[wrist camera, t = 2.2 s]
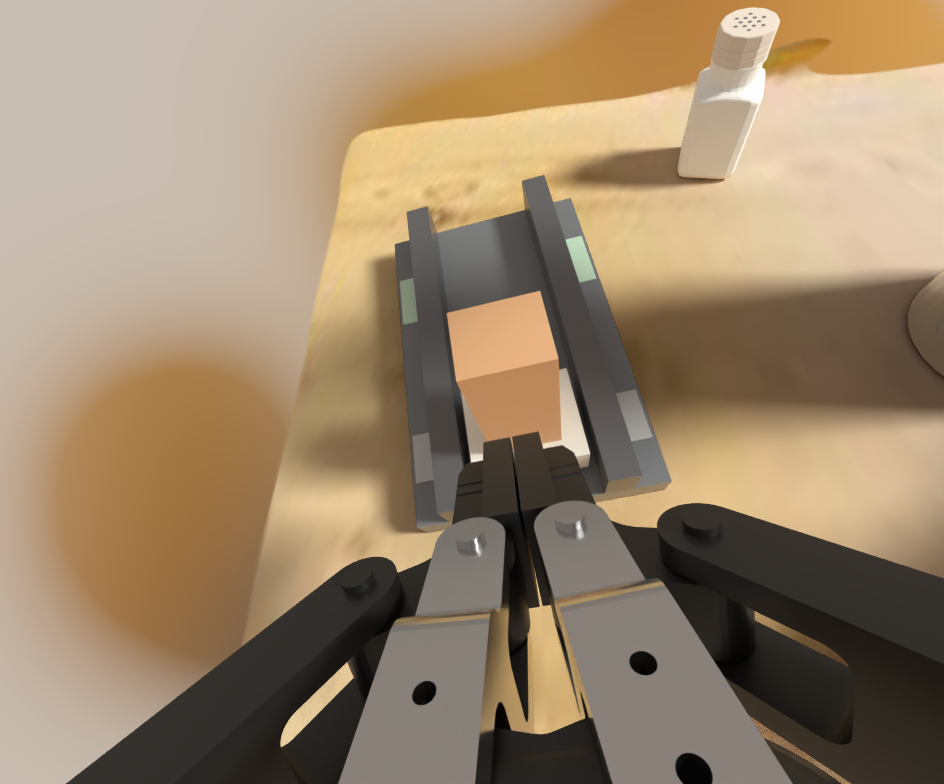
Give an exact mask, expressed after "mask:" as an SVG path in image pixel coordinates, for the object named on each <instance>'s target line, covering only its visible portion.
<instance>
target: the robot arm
mask: <svg viewBox="0 0 944 784" xmlns="http://www.w3.org/2000/svg"><path fill="white" fill-rule="evenodd" d="M908 329H909V332H910V335H911V338H912V341H913V343H914V345H915V346H916V348H917V349H918V351H919V352H920V354H921V356H922V357H923V358H924V359H925V360H926V361H927V362H928V363H929V364H930V365H931V366H932V367H933V368H934V369H935V370H936V371H937V372H938V373H940V374H941V375H942V376H944V270H943V271H942V272H941V273H940V274H939V275H938V276H936V277H935V278H934V279H933V280H932V281H931V282H930V283H928V284H927V285H926V286H925V287H924V288H923V289H922V290H921V291H919V293H918V294H917V295H916V297H915V298H914V300H913V301H912V302H911V305H910V309H909V312H908ZM512 440H513V447H512V443H511V439H510V437H507V438H502V439H497V440H492V441H487V442H484V443H483V460H482V461H477V462H472V463H467V465H466V466H465V467H464V468H463V470H462V471H461V472H460V473H459V475H458V483H457V490H456V498H455V505H454V513H453V520H452V526H450V527H449V528H447V529H446V530H445V531H444V532H443V533H442V534H441V535H440V536H439V538H438V539H437V542H436V545H435V548H434V552H433V555H432V558H430V559H429V560H427V561H425V562H423V563H421V564H419V565H416V566H414V567H411V568H409V569H406V570H404V571H401V572H399V573H398V572H397V569H396V567H395V564H394V563H393V562H392V561H391V560H389V559H387V558H384V557H370V558H365V559H361V560H358V561H356V562H354V563H352V564H350V565H348V566H346V567H344V568H343V569H341V570H340V571H339V572H337V573H336V574H335V575H334V576H332V577H331V578H330V579H328V580H327V581H326V582H325V583H323V584H322V585H321V586H319V587H318V588H317V589H316V590H314V591H313V592H312V593H310V594H309V595H308V596H307V597H305V598H304V599H303V600H301V601H300V602H299V603H298V604H296V605H295V606H294V607H292V608H291V609H290V610H289V611H287V612H286V613H285V614H283V615H282V616H281V617H280V618H278V619H277V620H276V621H274V622H273V623H272V624H271V625H269V626H268V627H267V628H265V629H264V630H263V631H262V632H260V633H259V634H258V635H256V636H255V637H254V638H253V639H251V640H250V641H249V642H247V643H246V644H245V645H244V646H242V647H241V648H240V649H239V650H237V651H236V652H235V653H233V654H232V655H231V656H230V657H228V658H227V659H226V660H224V661H223V662H222V663H221V664H219V665H218V666H217V667H215V668H214V669H213V670H212V671H210V672H209V673H208V674H207V675H205V676H204V677H203V678H201V679H200V680H199V681H198V682H196V683H195V684H194V685H192V686H191V687H190V688H188V689H187V690H186V691H185V692H183V693H182V694H181V695H179V696H178V697H177V698H176V699H174V700H173V701H172V702H170V703H169V704H168V705H167V706H165V707H164V708H163V709H161V710H160V711H159V712H158V713H156V714H155V715H154V716H153V717H151V718H150V719H149V720H148V721H146V722H145V723H143V724H142V725H141V726H140V727H138V728H137V729H136V730H135V731H134V732H132V733H131V734H129V735H128V736H127V737H126V738H124V739H123V740H122V741H120V742H119V743H118V744H117V745H115V746H114V747H113V748H111V749H110V750H109V751H107V752H106V753H105V754H104V755H102V756H101V757H100V758H99V759H97V760H96V761H95V762H93V763H92V764H91V765H90V766H88V767H87V768H86V769H84V770H83V771H82V772H81V773H79V774H78V775H77V776H75V777H74V778H73V779H72V780H70V781H69V782H68V783H66V784H841V783H840V782H838V781H837V780H836V779H834V778H833V777H831V776H830V775H828V774H827V773H826V772H824V771H823V770H821V769H820V768H818V767H817V766H815V765H814V764H812V763H810V762H808V761H807V760H805V759H803V758H802V757H800V756H798V755H796V754H795V753H793V752H791V751H790V750H788V749H785V748H783V747H781V746H779V745H777V744H775V743H773V742H771V741H769V740H767V739H764V738H763V737H762V735H761V734H760V732H759V730H758V729H757V727H756V726H755V724H754V723H753V721H752V720H751V718H750V716H751V717H752V718H754V719H755V720H757V721H758V722H760V723H761V724H763V725H764V726H766V727H767V728H769V729H770V730H772V731H773V732H775V733H776V734H778V735H779V736H781V737H782V738H784V739H785V740H787V741H788V742H790V743H791V744H793V745H794V746H796V747H798V748H799V749H801V750H802V751H804V752H805V753H807V754H808V755H810V756H811V757H813V758H814V759H816V760H817V761H819V762H820V763H822V764H823V765H825V766H826V767H828V768H829V769H831V770H832V771H834V772H835V773H837V774H838V775H840V776H841V777H843V778H844V779H846V780H847V781H849V782H850V783H852V784H944V579H943V578H940V577H937V576H934V575H931V574H928V573H925V572H922V571H919V570H916V569H912V568H909V567H906V566H903V565H900V564H897V563H894V562H891V561H888V560H885V559H881V558H878V557H875V556H872V555H869V554H866V553H863V552H860V551H857V550H854V549H850V548H847V547H844V546H841V545H838V544H835V543H832V542H829V541H826V540H823V539H819V538H816V537H813V536H810V535H807V534H804V533H801V532H798V531H795V530H791V529H788V528H785V527H782V526H779V525H776V524H773V523H770V522H767V521H764V520H760V519H757V518H754V517H751V516H748V515H745V514H742V513H739V512H736V511H733V510H729V509H726V508H723V507H720V506H716V505H711V504H702V503H691V504H683V505H679V506H676V507H673V508H671V509H669V510H667V511H665V512H664V513H663V514H662V515H661V516H660V518H659V519H658V522H657V528H646V527H631V526H626V525H622V524H618V523H616V522H613V521H611V520H610V519H609V517H608V515H607V514H606V512H605V511H604V510H603V509H602V508H600V507H599V506H597V505H596V503H595V501H594V499H593V496H592V494H591V491H590V489H589V487H588V484H587V482H586V480H585V477H584V475H583V473H582V470H581V468H580V465H579V463H578V461H577V458H576V456H575V454H574V452H572V451H571V450H569V449H568V448H566V447H564V446H563V445H560V446H555V447H550V448H544V449H543V445H542V442H541V438H540V435H539V431H537V432H532V433H527V434H522V435H517V436H512ZM513 448H514V452H513ZM534 569H535V570H534ZM535 573H536V577H535ZM536 578H537V582H538V587H539V591H540V595H541V600H542V604H543V606H546V605H551V608H552V612H553V617H554V621H555V626H556V631H557V635H558V640H559V644H560V647H561V651H562V655H563V658H564V662H565V666H566V670H567V673H568V677H569V681H570V684H571V688H572V692H573V695H574V699H575V703H576V707H577V710H578V714H579V718H580V721H577V722H575V723H573V724H570V725H568V726H565V727H563V728H561V729H558V730H556V731H554V732H551V733H548V734H534V703H533V662H532V640H531V636H530V632H529V629H530V616H529V608H534V607H540V605H539V598H538V591H537V584H536ZM754 611H756V612H758V613H760V614H762V615H764V616H766V617H768V618H771V619H773V620H775V621H777V622H779V623H781V624H783V625H785V626H787V627H789V628H791V629H793V630H796V631H798V632H800V633H802V634H804V635H806V636H808V637H810V638H812V639H814V640H816V641H818V642H820V643H822V644H824V645H826V646H827V647H829V648H830V649H832V650H833V651H834V652H836V653H837V654H838V655H839V656H840V657H841V658H842V659H843V660H844V661H845V662H846V663H847V664H848V666H849V667H850V668H849V667H847V666H845V665H843V664H841V663H839V662H837V661H835V660H833V659H831V658H829V657H827V656H825V655H823V654H821V653H819V652H817V651H815V650H813V649H811V648H809V647H807V646H805V645H803V644H801V643H799V642H797V641H795V640H793V639H791V638H789V637H787V636H785V635H783V634H781V633H779V632H777V631H775V630H773V629H771V628H769V627H767V626H765V625H763V624H761V623H759V622H757V621H755V613H754ZM346 662H348V665H349V667H350V670H351V672H352V674H353V677H354V678H353V679H352V680H351V681H350V682H349V683H348V684H347V685H346V686H345V687H344V688H343V689H342V690H341V691H340V692H339V693H338V694H337V695H336V696H335V697H334V698H333V699H332V700H331V701H330V702H329V703H328V704H327V705H326V706H325V707H324V708H323V709H322V710H321V711H320V712H319V713H318V714H317V715H316V716H315V717H314V718H313V720H312V721H311V722H310V723H309V724H308V725H307V726H306V727H305V728H304V729H303V730H302V731H301V732H300V733H299V734H298V735H297V736H296V737H295V738H294V739H293V740H292V741H290V742H289V743H288V744H286V745H285V746H283V747H281V746H280V741H281V735H282V732H283V729H284V727H285V725H286V724H287V722H288V720H289V719H290V718H291V716H292V715H293V714H294V713H295V712H296V711H297V710H298V709H299V708H300V707H301V706H302V705H303V704H304V703H305V702H306V701H307V700H308V699H309V698H310V697H311V696H312V695H313V694H314V693H315V692H316V691H317V690H318V689H319V688H321V687H322V686H323V685H324V684H325V683H326V682H327V681H328V680H329V679H330V678H331V677H332V676H333V675H334V674H335V673H336V672H337V671H338V670H339V669H340V668H341V667H342V666H343V665H344V664H345V663H346Z"/></svg>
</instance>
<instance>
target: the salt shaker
mask: <svg viewBox="0 0 944 784" xmlns="http://www.w3.org/2000/svg"><path fill="white" fill-rule="evenodd" d="M779 23H780V20H779V18H778V16H777V14H776V13H775V12H772V11H770V10H768V9H765V8H752V7H751V8H746V9H741V10H736V11H734V12H733V13H731V14H729V15H727V16H725V17H724V19H723V21H722V22H721V24H720V25H719V29H718V33H717V37H716V38H717V39H716V41H715V45H714V48H713V52H712V56H711V61H712V62H711V66H710V67H708V68H706V69H704V70H702V71H701V72H700V74H699V77H698V81H697V85H696V89H695V93H694V97H693V101H692V105H691V109H690V113H689V117H688V121H687V125H686V129H685V133H684V137H683V141H682V146H681V151H680V157H679V162H678V168H677V169H678V173H679V176H682V177H690V178H715V179H725V178H729V177H730V175H731V174H732V173H733V172H734V170H735V168H736V165H737V163H738V160H739V158H740V155H741V152H742V150H743V147H744V145H745V142H746V139H747V137H748V134H749V132H750V129H751V127H752V124H753V121H754V119H755V116H756V114H757V111H758V108H759V106H760V103H761V101H762V97H763V91H764V84H765V70H764V69H763V68H762V65H763V63H764V61H765V60H766V59H767V56H768V53H769V50H770V48H771V44H772V42H773V39H774V36H775V34H776V31H777V29H778V26H779Z"/></svg>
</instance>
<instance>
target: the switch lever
mask: <svg viewBox="0 0 944 784" xmlns="http://www.w3.org/2000/svg"><path fill="white" fill-rule="evenodd" d="M447 319H448V326H449V333H450V340H451V347H452V355H453V362H454V369H455V376H456V382H457V384H458V386H459V388H460V390H461V395H462V402H463V409H464V416H465V423H466V430H467V437H468V444H469V451H470V458H471V463H472V462H477V461H482V460H483V443H484V442H487V441H492V440H497V439H502V438H507V437H510V439H511V443H512V447H513V440H512V436H517V435H522V434H527V433H532V432H537V431H539V435H540V438H541V442H542V445H543V449H544V448H550V447H555V446H560V445H563V446H564V447H566V448H568V449H569V450H571V451H572V452H574V454H575V456H576V458H577V461H578V463H579V465H580V468H583V467H588V466H589V459H590V451H589V447H588V444H587V440H586V437H585V433H584V429H583V426H582V422H581V419H580V415H579V411H578V408H577V404H576V401H575V397H574V393H573V390H572V386H571V383H570V379H569V375H568V372H567V368H564V369H560V370H559V359H558V355H557V351H556V348H555V344H554V340H553V336H552V333H551V329H550V325H549V322H548V318H547V314H546V311H545V307H544V303H543V300H542V296H541V292H540V291H537V292H533V293H528V294H524V295H520V296H516V297H512V298H508V299H503V300H499V301H495V302H491V303H487V304H482V305H478V306H474V307H470V308H466V309H462V310H457V311H453V312H449V313H447ZM513 452H514V448H513Z"/></svg>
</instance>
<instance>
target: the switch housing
mask: <svg viewBox="0 0 944 784" xmlns="http://www.w3.org/2000/svg"><path fill="white" fill-rule="evenodd" d="M522 186H523V196H524V205H525V210H523V211H520V212H516V213H512V214H508V215H504V216H500V217H497V218H493V219H489V220H485V221H481V222H478V223H474V224H470V225H466V226H462V227H458V228H455V229H451V230H447V231H443V232H439V233H437V231H436V229H435V226H434V223H433V220H432V217H431V214H430V212H429V209H428V206H427V207H424V208H420V209H416V210H412V211H409V212H407V219H408V229H409V239H410V240H409V241H405V242H401V243H397V244H395V255H396V268H397V280H398V293H399V306H400V319H401V332H402V344H403V357H404V370H405V383H406V395H407V408H408V421H409V434H410V447H411V459H412V472H413V485H414V498H415V510H416V523H417V528H418V529H420V530H422V531H424V532H426V533H429V532H434V531H440V530H445V529H447V528H449V527H450V526H452V520H453V513H454V505H455V498H456V490H457V483H458V475H459V473H460V472H461V471H462V470H463V468H464V467H465V466H466V465H467V463H471V458H470V451H469V444H468V437H467V430H466V423H465V416H464V409H463V402H462V395H461V390H460V388H459V386H458V384H457V382H456V376H455V369H454V362H453V355H452V347H451V340H450V333H449V326H448V319H447V313H449V312H453V311H457V310H462V309H466V308H470V307H474V306H478V305H482V304H487V303H491V302H495V301H499V300H503V299H508V298H512V297H516V296H520V295H524V294H528V293H533V292H537V291H540V292H541V296H542V300H543V303H544V307H545V311H546V314H547V318H548V322H549V325H550V329H551V333H552V336H553V340H554V344H555V348H556V351H557V355H558V359H559V370H560V369H564V368H567V372H568V375H569V379H570V383H571V386H572V390H573V393H574V397H575V401H576V404H577V408H578V411H579V415H580V419H581V422H582V426H583V429H584V433H585V437H586V440H587V444H588V447H589V451H590V459H589V466H588V467H583V468H581V470H582V473H583V475H584V477H585V480H586V482H587V484H588V487H589V489H590V491H591V494H592V496H593V499H594V501H595V502H600V501H605V500H611V499H616V498H622V497H627V496H633V495H638V494H644V493H649V492H655V491H660V490H664V489H665V488H666V487H667V486H668V485H669V484H670V483H671V478H670V475H669V472H668V469H667V467H666V464H665V461H664V458H663V455H662V453H661V450H660V447H659V444H658V441H657V439H656V436H655V433H654V430H653V427H652V425H651V422H650V419H649V416H648V413H647V411H646V408H645V405H644V402H643V399H642V397H641V394H640V391H639V388H638V385H637V383H636V380H635V377H634V374H633V371H632V369H631V366H630V363H629V360H628V357H627V355H626V352H625V349H624V346H623V343H622V341H621V338H620V335H619V332H618V329H617V327H616V324H615V321H614V318H613V315H612V313H611V310H610V307H609V304H608V301H607V299H606V296H605V293H604V290H603V287H602V285H601V282H600V279H599V276H598V273H597V271H596V268H595V265H594V262H593V259H592V257H591V254H590V251H589V248H588V245H587V243H586V240H585V237H584V234H583V231H582V229H581V226H580V223H579V220H578V217H577V215H576V212H575V209H574V206H573V203H572V201H571V198H569V199H565V200H562V201H558V202H554V203H553V201H552V198H551V194H550V191H549V188H548V185H547V182H546V179H545V176H544V175H542V176H538V177H535V178H531V179H527V180H524V181H522Z"/></svg>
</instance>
